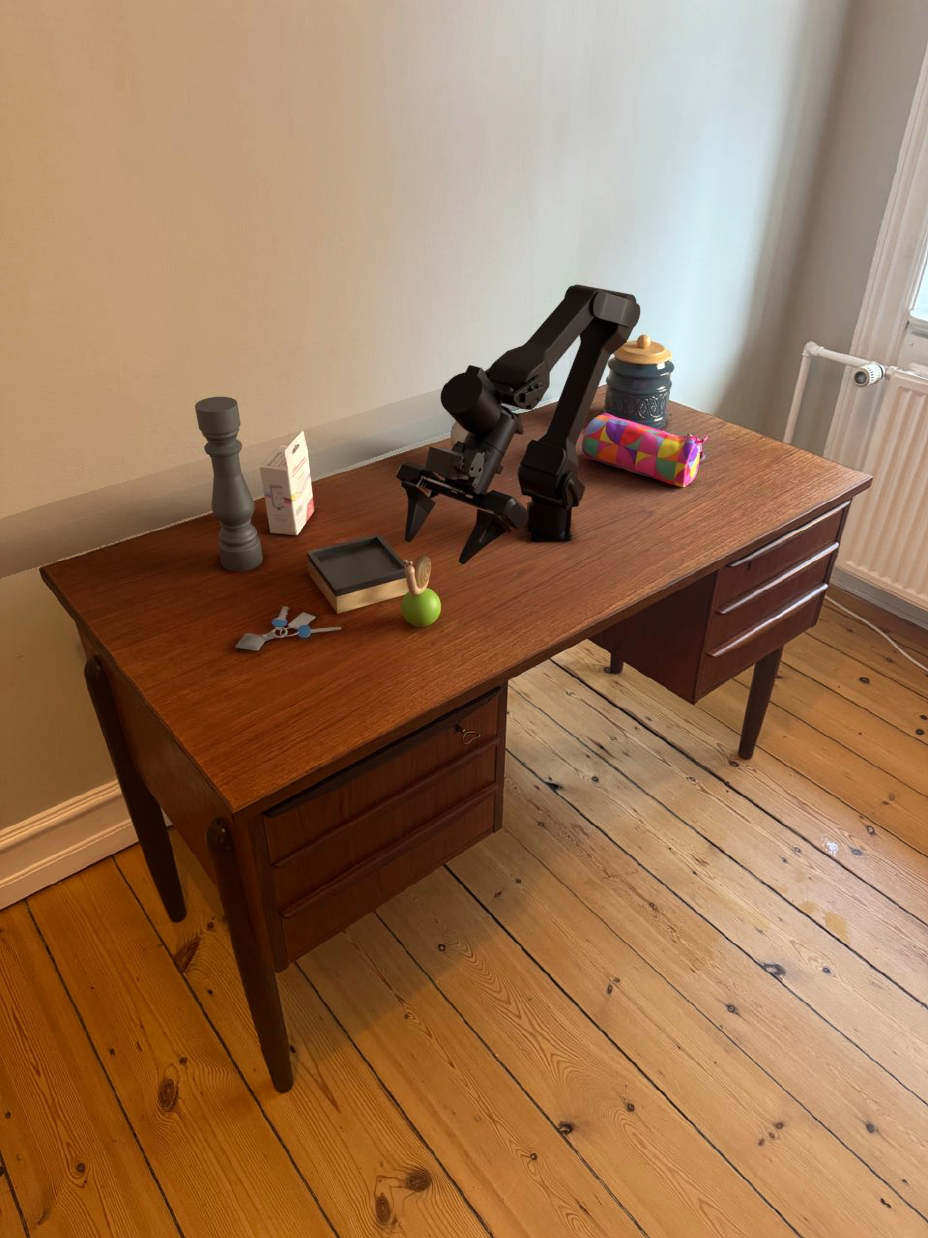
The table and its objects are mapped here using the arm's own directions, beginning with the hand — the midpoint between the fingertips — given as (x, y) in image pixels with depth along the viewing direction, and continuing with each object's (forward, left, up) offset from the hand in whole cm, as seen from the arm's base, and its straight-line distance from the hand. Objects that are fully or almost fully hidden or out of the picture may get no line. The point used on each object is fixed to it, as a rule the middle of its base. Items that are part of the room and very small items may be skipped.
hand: (433, 552), depth 117 cm
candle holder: (+30, -15, -10) cm, 35 cm away
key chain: (+21, +3, -10) cm, 23 cm away
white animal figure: (-5, -50, -10) cm, 51 cm away
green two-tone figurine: (+2, +2, -10) cm, 11 cm away
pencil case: (-37, -45, -10) cm, 59 cm away
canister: (-40, -68, -10) cm, 80 cm away
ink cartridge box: (+24, -27, -10) cm, 37 cm away
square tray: (+11, -8, -10) cm, 17 cm away
